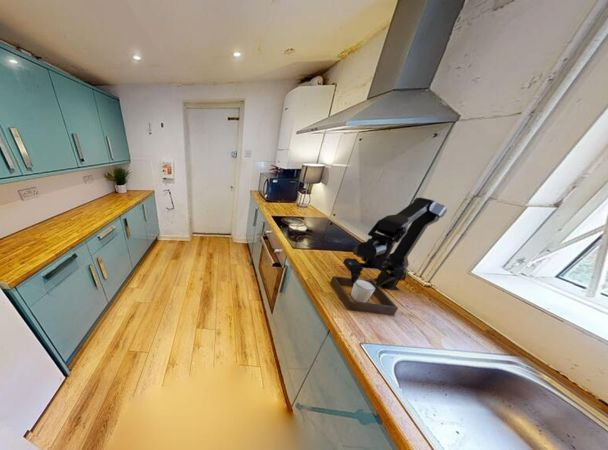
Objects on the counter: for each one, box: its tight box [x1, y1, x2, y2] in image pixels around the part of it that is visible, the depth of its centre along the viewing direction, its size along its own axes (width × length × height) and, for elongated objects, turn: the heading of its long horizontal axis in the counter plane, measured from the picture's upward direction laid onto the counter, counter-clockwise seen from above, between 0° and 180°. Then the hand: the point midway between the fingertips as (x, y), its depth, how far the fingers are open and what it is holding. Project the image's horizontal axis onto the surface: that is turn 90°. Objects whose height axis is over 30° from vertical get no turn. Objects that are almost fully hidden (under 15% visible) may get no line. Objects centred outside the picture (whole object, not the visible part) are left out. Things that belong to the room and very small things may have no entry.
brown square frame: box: [329, 275, 399, 317], centre depth 82 cm, size 17×16×4 cm
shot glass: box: [350, 278, 375, 303], centre depth 81 cm, size 7×7×7 cm
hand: (364, 284), depth 80 cm, fingers open, 9 cm apart
